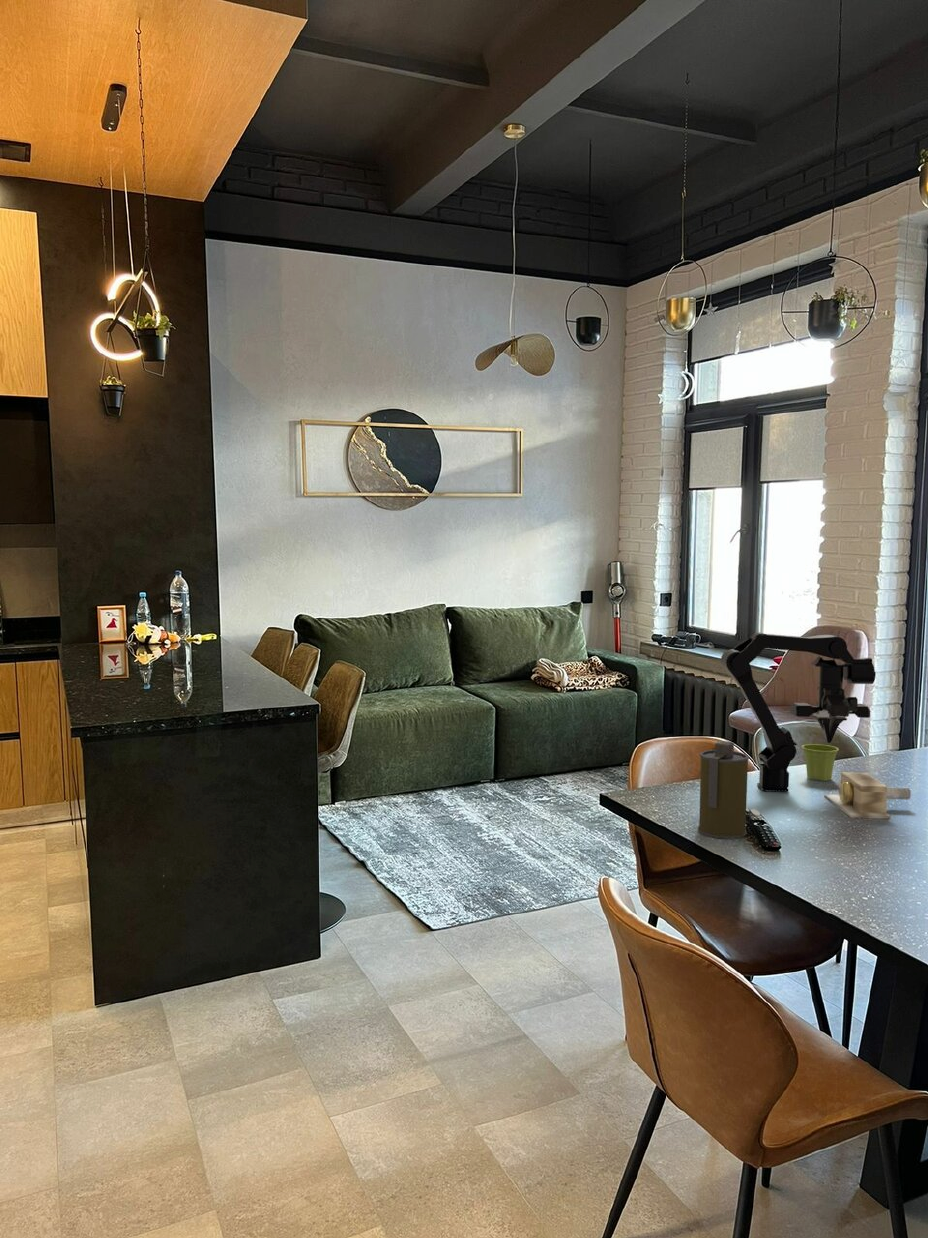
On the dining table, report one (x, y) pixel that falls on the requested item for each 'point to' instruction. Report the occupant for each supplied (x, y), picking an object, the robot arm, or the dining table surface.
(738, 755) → the canister
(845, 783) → the door knob
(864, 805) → the block
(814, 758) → the plant pot
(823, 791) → the dining table surface
